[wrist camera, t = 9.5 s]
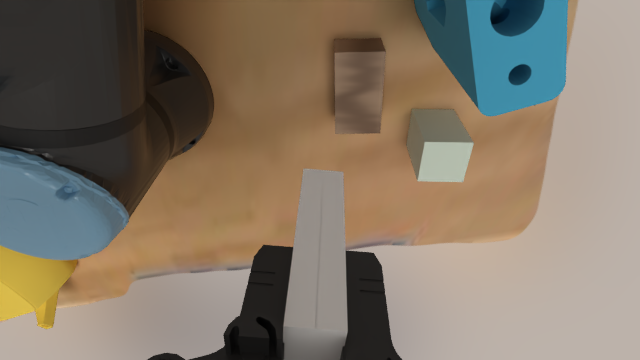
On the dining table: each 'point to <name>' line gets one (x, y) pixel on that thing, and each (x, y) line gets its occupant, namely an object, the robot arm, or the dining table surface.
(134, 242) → the dining table surface
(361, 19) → the dining table surface
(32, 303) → the teapot
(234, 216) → the dining table surface
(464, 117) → the dining table surface
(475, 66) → the block
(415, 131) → the sage pillar
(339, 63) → the walnut pillar
